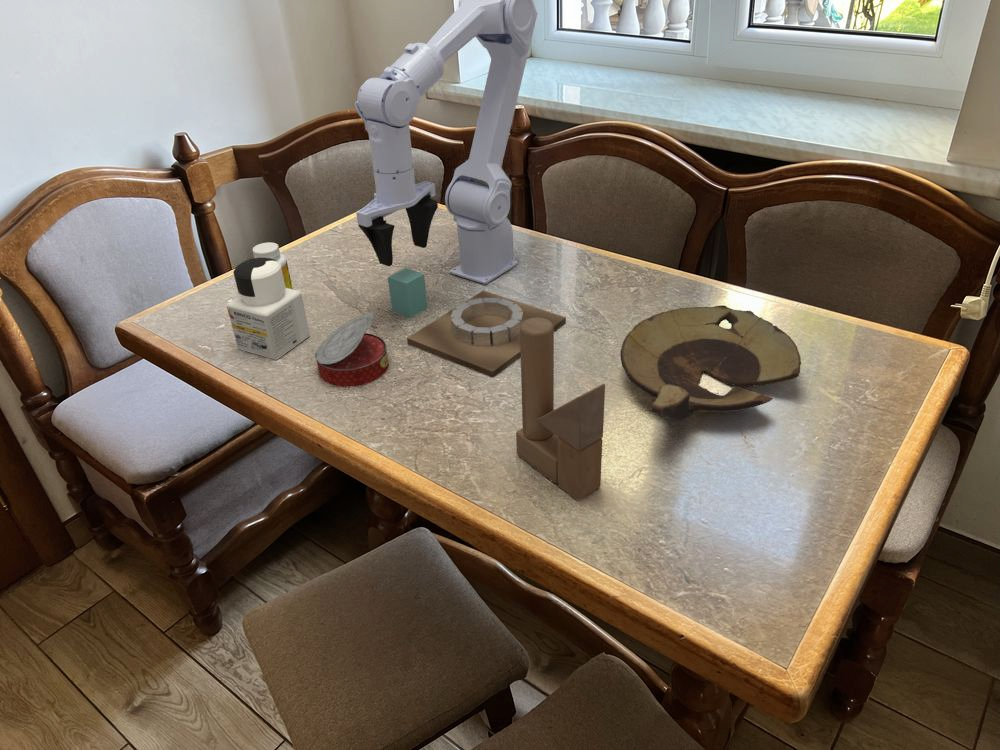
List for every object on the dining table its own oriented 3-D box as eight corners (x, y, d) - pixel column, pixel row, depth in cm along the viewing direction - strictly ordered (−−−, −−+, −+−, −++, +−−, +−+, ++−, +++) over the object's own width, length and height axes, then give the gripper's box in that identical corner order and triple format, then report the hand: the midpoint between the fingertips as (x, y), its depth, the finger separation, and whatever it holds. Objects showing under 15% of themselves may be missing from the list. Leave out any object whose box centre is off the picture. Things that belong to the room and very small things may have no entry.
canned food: (366, 414, 108) (336, 379, 99) (316, 385, 112) (284, 349, 104) (414, 352, 111) (389, 313, 103) (364, 326, 116) (336, 287, 107)
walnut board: (483, 295, 126) (483, 290, 125) (565, 323, 117) (565, 317, 117) (407, 343, 114) (406, 337, 113) (493, 377, 106) (492, 371, 105)
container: (236, 349, 114) (215, 270, 107) (272, 325, 120) (254, 248, 113) (276, 361, 111) (257, 280, 104) (311, 336, 117) (295, 257, 110)
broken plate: (831, 381, 102) (843, 331, 98) (680, 480, 87) (687, 426, 83) (698, 319, 117) (703, 273, 113) (549, 394, 102) (549, 345, 98)
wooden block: (578, 502, 85) (581, 365, 75) (515, 455, 92) (511, 323, 82) (602, 487, 86) (608, 351, 76) (539, 442, 94) (537, 312, 84)
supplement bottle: (301, 305, 125) (289, 247, 119) (270, 317, 122) (256, 258, 117) (286, 294, 129) (273, 237, 123) (255, 305, 126) (241, 247, 120)
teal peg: (409, 301, 125) (405, 267, 122) (427, 307, 123) (424, 273, 120) (392, 311, 123) (387, 277, 119) (410, 318, 120) (406, 283, 117)
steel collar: (481, 304, 121) (481, 291, 120) (536, 322, 116) (536, 309, 114) (437, 332, 114) (436, 319, 113) (493, 353, 109) (493, 340, 108)
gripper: (407, 149, 117) (416, 232, 124) (336, 177, 107) (350, 266, 115) (442, 156, 113) (449, 242, 121) (372, 186, 104) (384, 277, 111)
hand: (403, 254), depth 118 cm, fingers open, 7 cm apart
